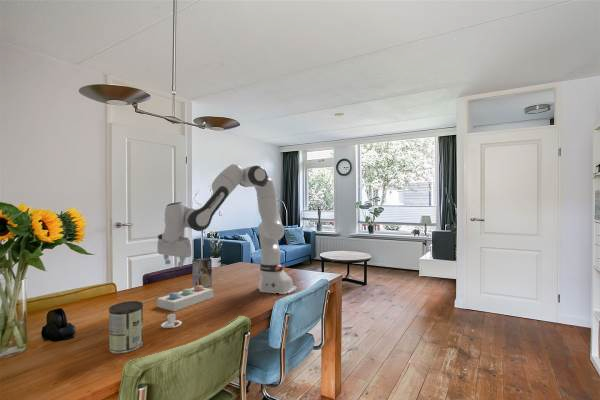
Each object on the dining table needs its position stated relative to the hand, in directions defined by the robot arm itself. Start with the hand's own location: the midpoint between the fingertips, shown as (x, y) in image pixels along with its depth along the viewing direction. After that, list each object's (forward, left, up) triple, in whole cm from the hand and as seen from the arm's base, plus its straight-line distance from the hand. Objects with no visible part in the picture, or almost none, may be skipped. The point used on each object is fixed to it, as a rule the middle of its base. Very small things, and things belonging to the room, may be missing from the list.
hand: (174, 265), depth 148 cm
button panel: (0, -7, -20) cm, 21 cm away
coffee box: (+14, -30, -20) cm, 39 cm away
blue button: (0, 0, -16) cm, 17 cm away
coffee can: (-20, +36, -20) cm, 45 cm away
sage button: (0, -7, -17) cm, 18 cm away
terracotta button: (0, -15, -16) cm, 22 cm away
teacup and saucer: (-16, +18, -20) cm, 31 cm away
